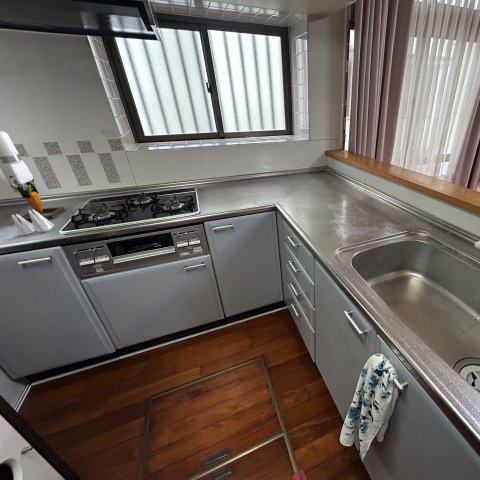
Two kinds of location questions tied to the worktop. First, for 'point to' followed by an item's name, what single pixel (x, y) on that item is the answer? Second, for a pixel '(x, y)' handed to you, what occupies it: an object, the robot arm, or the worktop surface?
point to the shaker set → (38, 221)
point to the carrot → (34, 200)
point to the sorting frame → (55, 211)
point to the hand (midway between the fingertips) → (31, 195)
